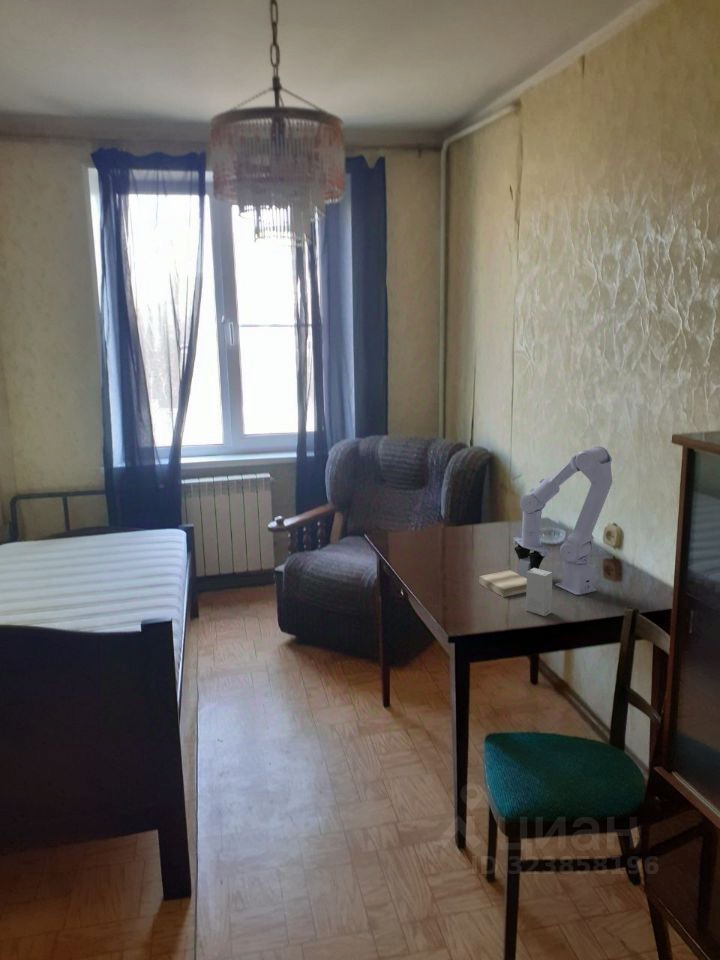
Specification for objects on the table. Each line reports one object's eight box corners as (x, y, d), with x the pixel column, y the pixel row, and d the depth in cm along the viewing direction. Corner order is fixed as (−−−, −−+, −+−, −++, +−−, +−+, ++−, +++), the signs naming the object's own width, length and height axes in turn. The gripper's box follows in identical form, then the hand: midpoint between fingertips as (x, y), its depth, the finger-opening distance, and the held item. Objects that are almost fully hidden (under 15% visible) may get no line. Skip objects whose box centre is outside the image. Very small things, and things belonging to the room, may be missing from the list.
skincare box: (551, 612, 196) (554, 571, 193) (543, 617, 193) (546, 576, 190) (532, 606, 200) (534, 566, 198) (524, 611, 197) (526, 570, 194)
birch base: (534, 590, 212) (535, 582, 212) (503, 597, 207) (503, 589, 206) (509, 577, 223) (509, 570, 222) (478, 583, 217) (479, 576, 217)
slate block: (538, 575, 224) (539, 561, 223) (527, 578, 222) (528, 563, 221) (529, 571, 228) (530, 557, 227) (518, 573, 226) (519, 559, 225)
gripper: (556, 534, 217) (554, 575, 220) (525, 522, 230) (523, 561, 233) (539, 537, 214) (536, 579, 217) (508, 525, 226) (507, 565, 230)
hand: (528, 570), depth 225 cm, fingers closed on slate block, 4 cm apart
